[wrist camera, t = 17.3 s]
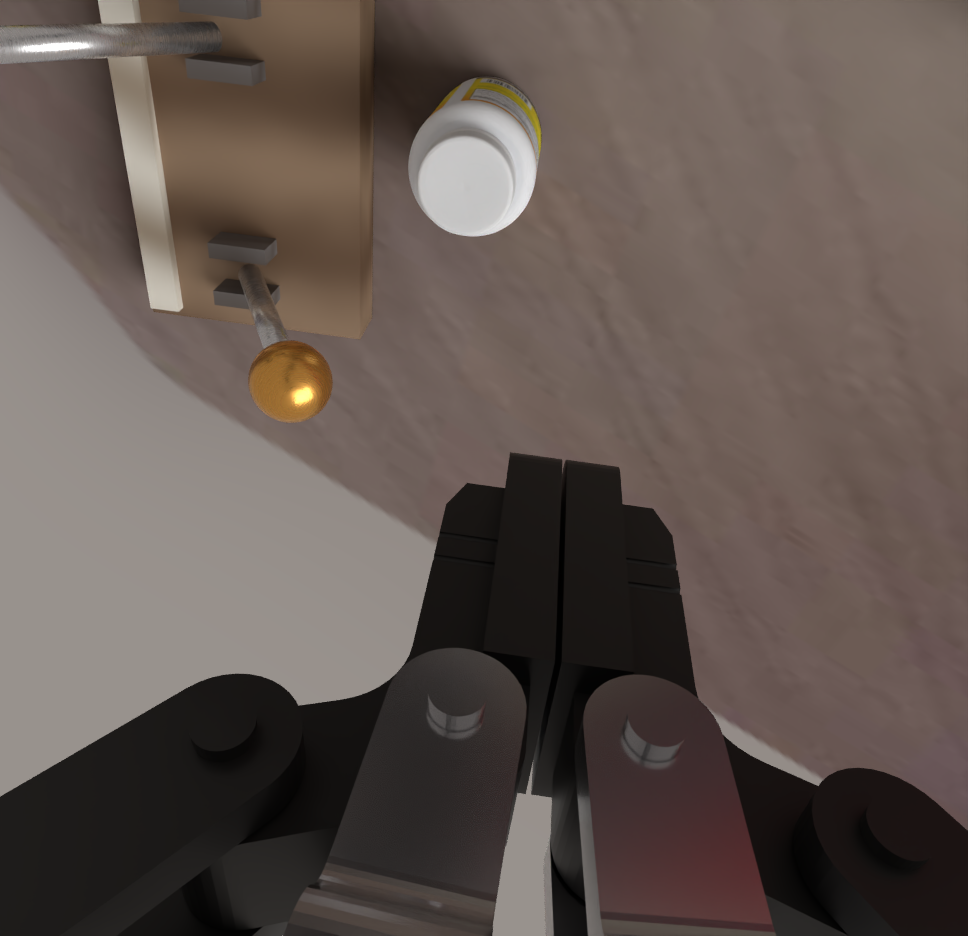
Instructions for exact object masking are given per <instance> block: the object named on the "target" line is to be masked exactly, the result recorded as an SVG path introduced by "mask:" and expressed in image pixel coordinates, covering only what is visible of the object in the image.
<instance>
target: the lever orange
mask: <svg viewBox="0 0 968 936" xmlns="http://www.w3.org/2000/svg"><path fill="white" fill-rule="evenodd" d="M238 277H239V280H240V283H241V285H242V288H243V291H244V294H245V297H246V300H247V303H248V305H249V308H250V311H251V314H252V317H253V320H254V322H255V325H256V328H257V331H258V334H259V337H260V340H261V342H262V345H263V348H264V349H263V350H262V351H261V352H260V353H259V354H258V355H257V356H256V358H255V359H254V361H253V363H252V365H251V367H250V371H249V377H248V384H249V390H250V393H251V396H252V398H253V400H254V402H255V403H256V405H257V406H258V407H259V409H260V410H261V411H262V412H264V413H265V414H266V415H268V416H269V417H271V418H273V419H276V420H278V421H282V422H288V423H294V422H301V421H305V420H307V419H310V418H312V417H313V416H315V415H316V414H318V413H319V412H320V411H321V410H322V409H323V408H324V407H325V405H326V404H327V402H328V400H329V398H330V395H331V391H332V384H333V382H332V374H331V370H330V367H329V365H328V363H327V362H326V360H325V358H324V357H323V356H322V355H321V354H320V353H319V352H318V351H317V350H316V349H314V348H313V347H311V346H309V345H307V344H305V343H302V342H299V341H290V340H289V338H288V335H287V333H286V330H285V328H284V326H283V323H282V321H281V318H280V316H279V314H278V311H277V309H276V306H275V304H274V301H273V299H272V297H271V294H270V292H269V289H268V287H267V285H266V282H265V280H264V277H263V275H262V273H261V270H260V269H259V267H257V266H256V265H254V264H246V265H244V266H242V267H241V268H240V270H239V272H238Z"/></svg>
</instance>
